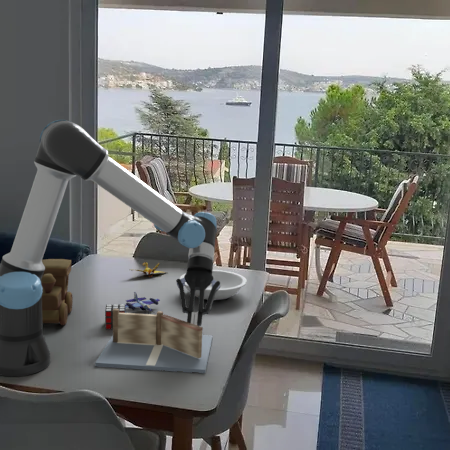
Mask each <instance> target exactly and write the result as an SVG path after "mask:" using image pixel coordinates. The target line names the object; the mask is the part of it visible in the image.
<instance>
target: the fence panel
mask: <svg viewBox="0 0 450 450" xmlns="http://www.w3.org/2000/svg"><path fill="white" fill-rule="evenodd" d="M203 329H204V328H203V327H202V326H197V325H194V324H191V323H188V322H187V320H186V321H185V320H182V319H179V318H176V317H174V316H171V315H168V314H164V313H163V315H162V316H161V344H162V345H165V346H167V347H170V348H172V349H175V350H178V351H180V352H183V353H185V354H188V355H191V356H193V357H196V358H198V359H199V358H201V353H202V335H203Z"/></svg>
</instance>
